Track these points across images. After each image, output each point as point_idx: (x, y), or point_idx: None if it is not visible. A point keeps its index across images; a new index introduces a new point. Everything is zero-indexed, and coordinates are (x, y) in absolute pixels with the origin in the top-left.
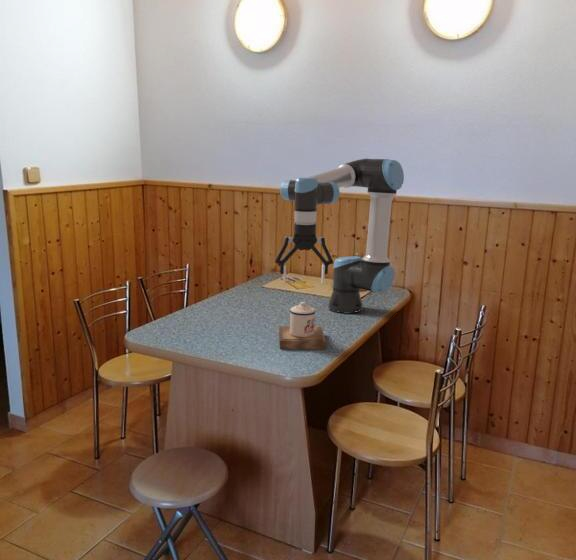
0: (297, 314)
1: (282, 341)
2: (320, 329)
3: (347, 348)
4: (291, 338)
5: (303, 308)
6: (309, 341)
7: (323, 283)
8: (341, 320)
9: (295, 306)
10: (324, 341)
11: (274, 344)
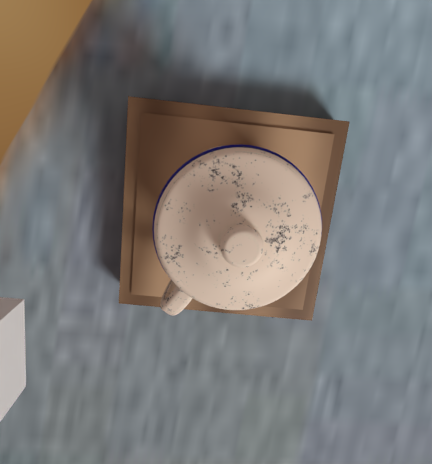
0: (286, 159)
1: (336, 120)
2: (129, 266)
3: (36, 103)
4: (292, 137)
5: (244, 192)
6: (209, 106)
7: (1, 300)
8: (17, 444)
9: (285, 264)
10: (136, 97)
11: (346, 180)
